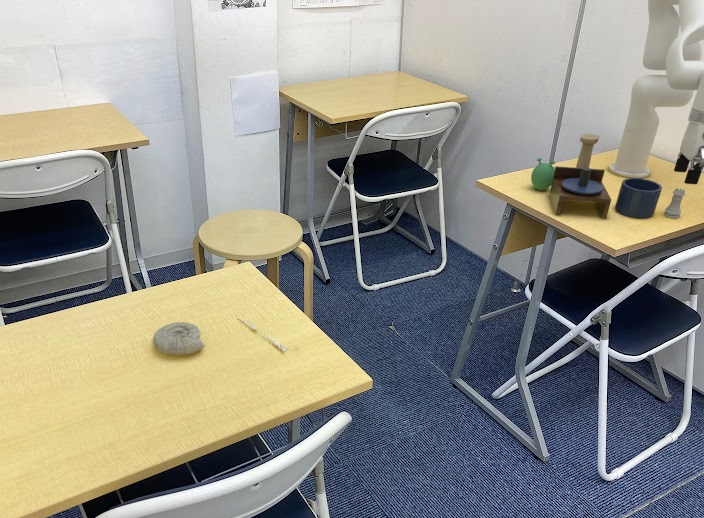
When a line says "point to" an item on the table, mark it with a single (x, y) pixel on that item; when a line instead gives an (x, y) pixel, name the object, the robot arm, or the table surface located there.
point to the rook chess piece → (675, 205)
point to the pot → (638, 198)
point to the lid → (582, 183)
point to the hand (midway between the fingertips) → (685, 177)
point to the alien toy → (543, 175)
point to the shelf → (561, 193)
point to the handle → (586, 149)
